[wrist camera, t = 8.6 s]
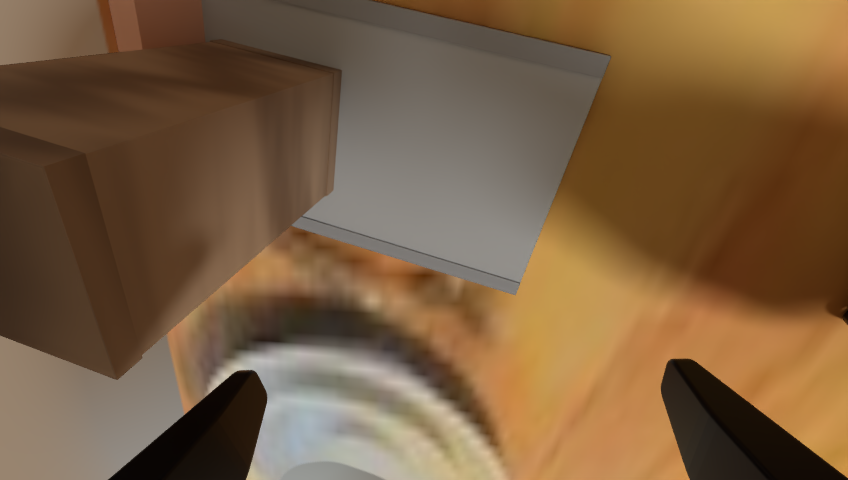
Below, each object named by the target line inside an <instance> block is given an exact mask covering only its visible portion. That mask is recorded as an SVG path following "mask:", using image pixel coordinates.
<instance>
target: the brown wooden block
mask: <svg viewBox="0 0 848 480" xmlns="http://www.w3.org/2000/svg"><path fill="white" fill-rule="evenodd" d="M341 78H342V70H340V69H336V68H332V67H328V66H324V65H320V64H316V63H312V62H309V61H305V60H301V59H297V58H293V57H289V56H285V55H281V54H277V53H274V52H270V51H266V50H262V49H258V48H254V47H250V46H246V45H242V44H238V43H235V42H231V41H227V40H223V39H218V40H210V42H205V43H196V44H187V45H178V46H170V47H161V48H152V49H143V50H134V51H125V52H116V53H107V54H99V55H89V56H80V57H72V58H63V59H54V60H45V61H36V62H27V63H18V64H9V65H0V335H1V336H3V337H6V338H8V339H11V340H13V341H16V342H19V343H21V344H24V345H27V346H29V347H32V348H35V349H37V350H40V351H42V352H45V353H48V354H50V355H53V356H55V357H58V358H61V359H63V360H66V361H69V362H71V363H74V364H76V365H79V366H82V367H84V368H87V369H90V370H92V371H95V372H97V373H100V374H103V375H105V376H108V377H110V378H113V379H116V380H118V379H119V378H120V377H121V376H122V375H124V374H125V373H126V372H127V371H128V370H129V369H130V368H132V367H133V366H134V365H135V364H136V363H137V362H138V361H139V360H141V359H142V355H143V354H144V353H145V352H146V351H147V350H148V349H149V348H150V347H152V346H153V345H154V344H155V343H156V342H157V341H158V340H160V339H161V338H162V337H163V336H164V335H166V334H167V333H168V332H169V331H170V330H171V329H172V328H174V327H175V326H176V325H177V324H178V323H179V322H181V321H182V320H183V319H184V318H185V317H186V316H187V315H189V314H190V313H191V312H192V311H193V310H194V309H195V308H197V307H198V306H199V305H200V304H201V303H202V302H204V301H205V300H206V299H207V298H208V297H209V296H210V295H212V294H213V293H214V292H215V291H216V290H217V289H219V288H220V287H221V286H222V285H223V284H224V283H225V282H227V281H228V280H229V279H230V278H231V277H232V276H233V275H235V274H236V273H237V272H238V271H239V270H240V269H242V268H243V267H244V266H245V265H246V264H247V263H248V262H250V261H251V260H252V259H253V258H254V257H255V256H257V255H258V254H259V253H260V252H261V251H262V250H263V249H265V248H266V247H267V246H268V245H269V244H270V243H271V242H273V241H274V240H275V239H276V238H277V237H278V236H280V235H281V234H282V233H283V232H284V231H285V230H286V229H288V228H289V227H290V226H291V225H292V224H293V223H294V222H296V221H297V220H298V219H299V218H300V217H301V216H303V215H304V214H305V213H306V212H307V211H308V210H309V209H311V208H312V207H313V206H314V205H315V204H316V203H318V202H319V201H320V200H321V199H322V198H323V197H324V196H328V195H329V194H330V193H331V192H332V191H333V190H334V176H335V162H336V148H337V134H338V120H339V106H340V92H341Z"/></svg>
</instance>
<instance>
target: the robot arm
mask: <svg viewBox="0 0 848 480" xmlns="http://www.w3.org/2000/svg"><path fill="white" fill-rule="evenodd" d="M843 320H844V321H845V323H846V324H847V325H848V311H847V312H846V313H845V314H844V316H843ZM661 394H662V398H663V401H664V404H665V407H666V410H667V413H668V416H669V419H670V423H671V426H672V429H673V432H674V435H675V438H676V441H677V444H678V447H679V450H680V453H681V456H682V460H683V462H684V465H685V468H686V471H687V474H688V476H689V478H690V480H848V478H847V477H845V476H844V475H843V474H841V473H840V472H839V471H838V470H836V469H835V468H834V467H832V466H831V465H830V464H828V463H827V462H826V461H825V460H823V459H822V458H821V457H819V456H818V455H817V454H815V453H814V452H813V451H811V450H810V449H809V448H808V447H806V446H805V445H804V444H802V443H801V442H800V441H798V440H797V439H796V438H795V437H793V436H792V435H791V434H789V433H788V432H787V431H785V430H784V429H783V428H781V427H780V426H779V425H778V424H776V423H775V422H774V421H772V420H771V419H770V418H768V417H767V416H766V415H765V414H763V413H762V412H761V411H759V410H758V409H757V408H755V407H754V406H753V405H751V404H750V403H749V402H748V401H746V400H745V399H744V398H742V397H741V396H740V395H738V394H737V393H736V392H735V391H733V390H732V389H731V388H729V387H728V386H727V385H725V384H724V383H723V382H721V381H720V380H719V379H718V378H716V377H715V376H714V375H712V374H711V373H710V372H708V371H707V370H706V369H705V368H703V367H702V366H701V365H699V364H698V363H697V362H695V361H693V360H691V359H670V360H669V361H668V362H667V365H666V368H665V372H664V376H663V380H662V383H661ZM266 404H267V393H266V390H265V388H264V386H263V384H262V382H261V380H260V378H259V376H258V374H257V373H256V372H255V371H253V370H241V371H236V372H235V373H233V374H232V375H231V376H230V377H228V378H227V379H226V380H225V381H224V382H223V383H221V384H220V385H219V386H218V387H217V388H215V389H214V390H213V391H212V392H211V393H210V394H208V395H207V396H206V397H205V398H204V399H203V400H201V401H200V402H199V403H198V404H197V405H195V406H194V407H193V408H192V409H191V410H190V411H188V412H187V413H186V414H185V415H184V416H183V417H181V418H180V419H179V420H178V421H177V422H176V423H174V424H173V425H172V426H171V427H170V428H168V429H167V430H166V431H165V432H164V433H162V434H161V435H160V436H159V437H158V438H157V439H155V440H154V441H153V442H152V443H151V444H150V445H148V446H147V447H146V448H145V449H144V450H143V451H141V452H140V453H139V454H138V455H137V456H135V457H134V458H133V459H132V460H131V461H130V462H128V463H127V464H126V465H125V466H124V467H122V468H121V469H120V470H119V471H118V472H117V473H115V474H114V475H113V476H112V477H111V478H110V479H108V480H246V478H247V475H248V472H249V469H250V465H251V462H252V458H253V455H254V451H255V447H256V443H257V439H258V435H259V431H260V427H261V424H262V420H263V416H264V412H265V408H266Z"/></svg>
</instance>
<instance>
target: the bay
mask: <svg viewBox="0 0 848 480" xmlns="http://www.w3.org/2000/svg"><path fill="white" fill-rule="evenodd" d="M108 2H109V7H110V11H111V16H112V21H113V26H114V31H115V36H116V41H117V46H118V50H119V52H125V51H134V50H143V49H152V48H161V47H170V46H178V45H187V44H196V43H205V42H210V40H218V39H223V40H227V41H231V42H235V43H238V44H242V45H246V46H250V47H254V48H258V49H262V50H266V51H270V52H274V53H277V54H281V55H285V56H289V57H293V58H297V59H301V60H305V61H309V62H312V63H316V64H320V65H324V66H328V67H332V68H336V69H340V70H342V78H341V92H340V106H339V120H338V134H337V148H336V162H335V176H334V190H333V191H332V192H331V193H330V194H329V195H328V196H324V197H323V198H322V199H321V200H320V201H319V202H318V203H316V204H315V205H314V206H313V207H312V208H311V209H309V210H308V211H307V212H306V213H305V214H304V215H303V216H301V217H300V218H299V219H298V220H297V221H296V222H294V223H293V224H292V225H291V226H294V227H297V228H300V229H303V230H306V231H310V232H313V233H316V234H319V235H323V236H326V237H329V238H332V239H336V240H339V241H342V242H345V243H348V244H352V245H355V246H358V247H361V248H365V249H368V250H371V251H374V252H378V253H381V254H384V255H387V256H390V257H394V258H397V259H400V260H403V261H407V262H410V263H413V264H416V265H420V266H423V267H426V268H429V269H432V270H436V271H439V272H442V273H445V274H449V275H452V276H455V277H458V278H462V279H465V280H468V281H471V282H474V283H478V284H481V285H484V286H487V287H491V288H494V289H497V290H500V291H503V292H507V293H510V294H513V295H516V293H517V290H518V288H519V285H520V282H521V279H522V277H523V274H524V272H525V269H526V267H527V264H528V262H529V259H530V257H531V254H532V252H533V249H534V247H535V244H536V242H537V239H538V237H539V234H540V232H541V229H542V227H543V224H544V222H545V219H546V217H547V214H548V212H549V209H550V207H551V204H552V202H553V200H554V197H555V195H556V192H557V190H558V187H559V185H560V182H561V180H562V177H563V175H564V172H565V170H566V167H567V165H568V162H569V160H570V157H571V155H572V152H573V150H574V147H575V145H576V142H577V140H578V137H579V135H580V132H581V130H582V127H583V125H584V122H585V120H586V117H587V115H588V112H589V110H590V107H591V105H592V102H593V100H594V97H595V95H596V92H597V90H598V87H599V85H600V82H601V80H602V78H603V76H604V74H605V71H606V69H607V66H608V64H609V61H610V59H611V56H610V55H606V54H602V53H597V52H593V51H589V50H584V49H580V48H576V47H571V46H567V45H563V44H558V43H554V42H550V41H545V40H541V39H537V38H532V37H528V36H524V35H519V34H515V33H511V32H506V31H502V30H498V29H493V28H489V27H485V26H480V25H476V24H472V23H468V22H463V21H459V20H455V19H450V18H446V17H442V16H437V15H433V14H429V13H424V12H420V11H416V10H411V9H407V8H403V7H398V6H394V5H390V4H385V3H381V2H377V1H372V0H108Z"/></svg>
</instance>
